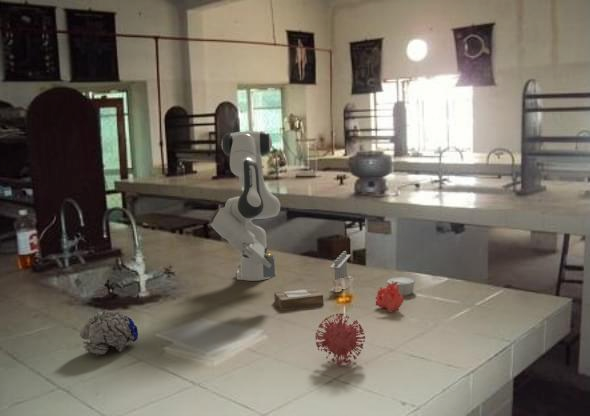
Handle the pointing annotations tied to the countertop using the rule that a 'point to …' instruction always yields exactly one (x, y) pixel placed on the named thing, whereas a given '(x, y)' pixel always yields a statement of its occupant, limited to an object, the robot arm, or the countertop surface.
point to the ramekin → (403, 285)
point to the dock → (298, 298)
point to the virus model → (340, 338)
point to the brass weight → (268, 255)
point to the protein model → (389, 297)
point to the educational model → (108, 332)
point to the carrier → (269, 271)
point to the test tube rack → (340, 267)
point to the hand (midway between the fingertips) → (270, 264)
